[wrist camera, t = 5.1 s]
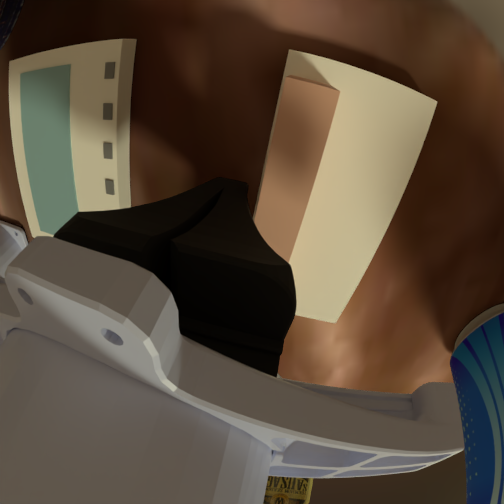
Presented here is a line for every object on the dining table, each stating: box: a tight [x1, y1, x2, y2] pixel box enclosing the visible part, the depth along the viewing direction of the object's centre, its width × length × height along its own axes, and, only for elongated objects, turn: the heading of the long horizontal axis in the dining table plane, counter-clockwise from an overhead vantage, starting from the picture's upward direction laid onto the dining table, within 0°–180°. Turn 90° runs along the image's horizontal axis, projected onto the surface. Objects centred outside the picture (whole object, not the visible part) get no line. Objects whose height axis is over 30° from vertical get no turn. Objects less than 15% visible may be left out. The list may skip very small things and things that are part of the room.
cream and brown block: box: [253, 49, 437, 323], centre depth 12 cm, size 6×13×4 cm, turn 170°
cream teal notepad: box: [9, 39, 137, 238], centre depth 13 cm, size 9×13×1 cm
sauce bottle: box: [263, 476, 313, 504], centre depth 24 cm, size 6×6×20 cm
